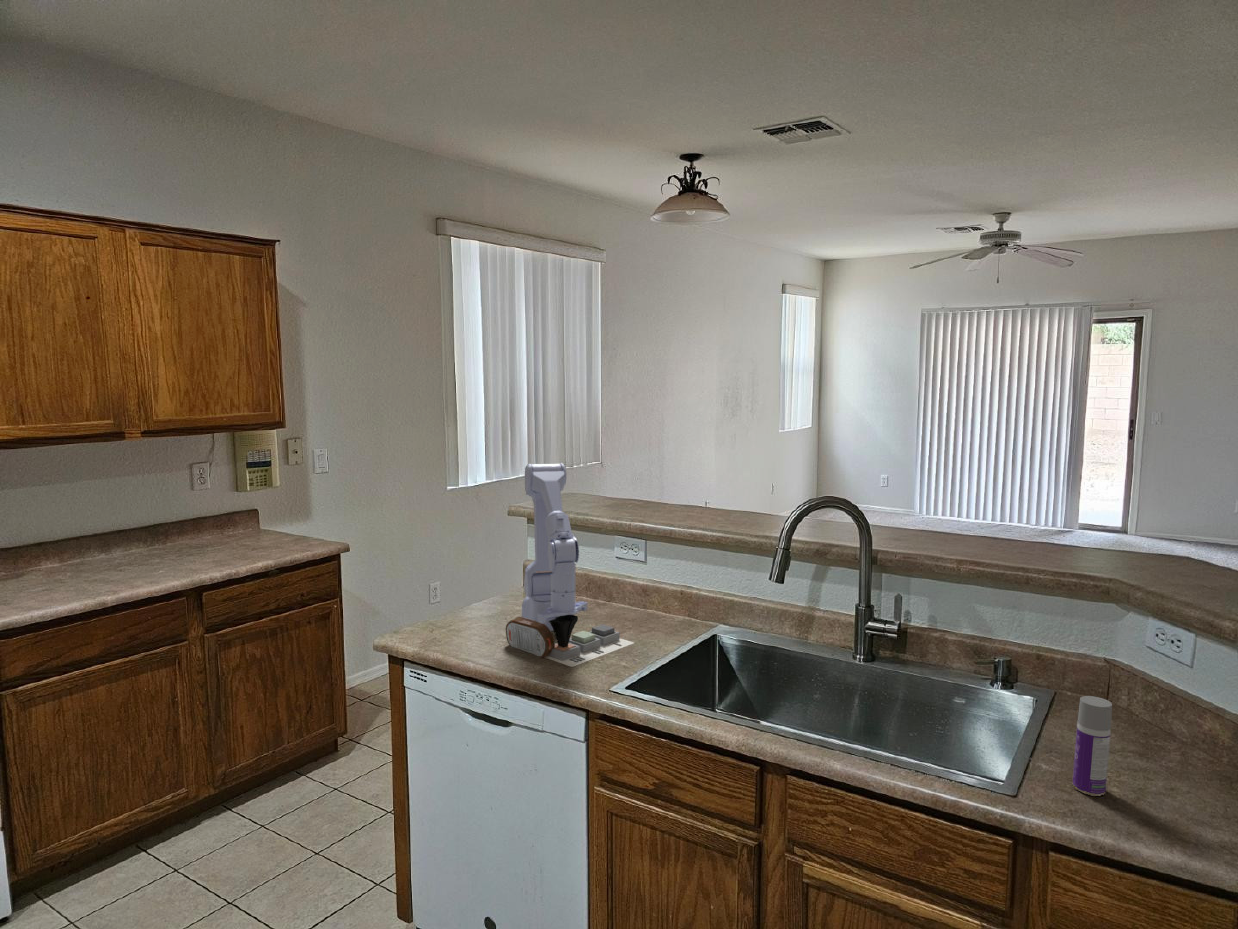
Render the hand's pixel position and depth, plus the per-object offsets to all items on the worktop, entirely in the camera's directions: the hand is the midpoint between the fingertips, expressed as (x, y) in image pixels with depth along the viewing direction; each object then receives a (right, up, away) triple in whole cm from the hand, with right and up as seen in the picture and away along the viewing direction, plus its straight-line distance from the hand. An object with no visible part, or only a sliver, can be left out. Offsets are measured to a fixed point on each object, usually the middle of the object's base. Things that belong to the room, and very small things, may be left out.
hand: (562, 646), depth 184 cm
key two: (+5, 0, +5) cm, 7 cm away
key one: (+9, 0, +11) cm, 14 cm away
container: (+90, -11, -56) cm, 106 cm away
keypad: (+6, -3, +5) cm, 8 cm away
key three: (0, -2, 0) cm, 2 cm away
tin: (-8, -3, +3) cm, 9 cm away
